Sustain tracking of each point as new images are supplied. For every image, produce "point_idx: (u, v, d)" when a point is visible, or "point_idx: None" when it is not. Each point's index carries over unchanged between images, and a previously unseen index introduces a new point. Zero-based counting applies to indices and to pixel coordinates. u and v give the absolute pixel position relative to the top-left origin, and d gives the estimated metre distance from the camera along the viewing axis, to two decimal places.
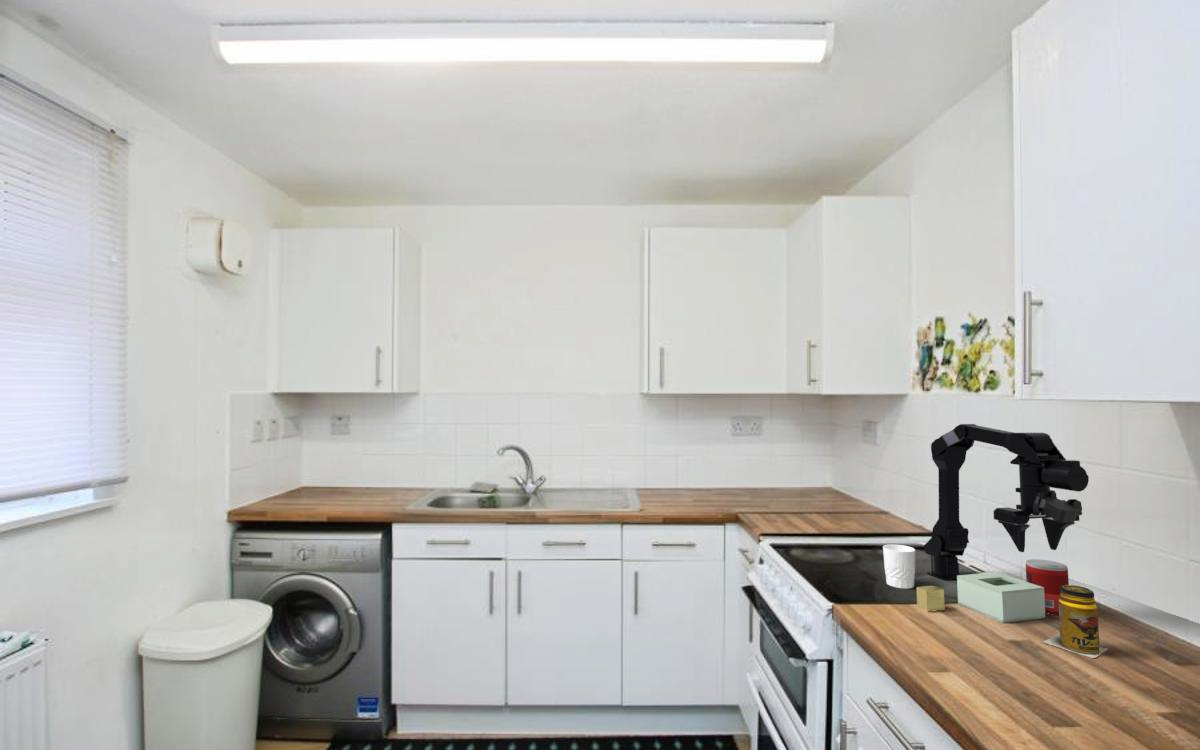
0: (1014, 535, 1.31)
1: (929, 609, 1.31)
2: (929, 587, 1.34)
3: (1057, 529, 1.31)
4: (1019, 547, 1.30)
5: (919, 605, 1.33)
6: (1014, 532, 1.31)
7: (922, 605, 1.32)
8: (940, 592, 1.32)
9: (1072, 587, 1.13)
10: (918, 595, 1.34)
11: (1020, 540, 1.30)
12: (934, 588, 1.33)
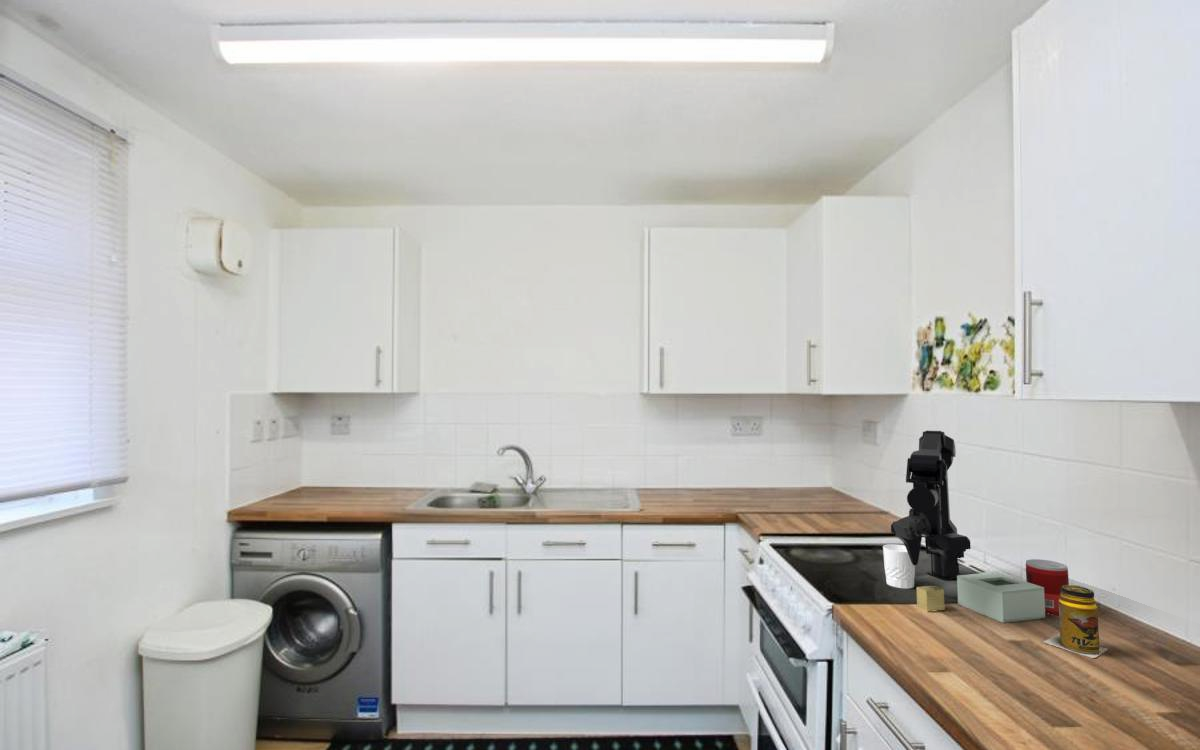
0: None
1: (929, 609, 1.31)
2: (929, 587, 1.34)
3: None
4: None
5: (919, 605, 1.33)
6: None
7: (922, 605, 1.32)
8: (940, 592, 1.32)
9: (1072, 587, 1.13)
10: (918, 595, 1.34)
11: None
12: (934, 588, 1.33)
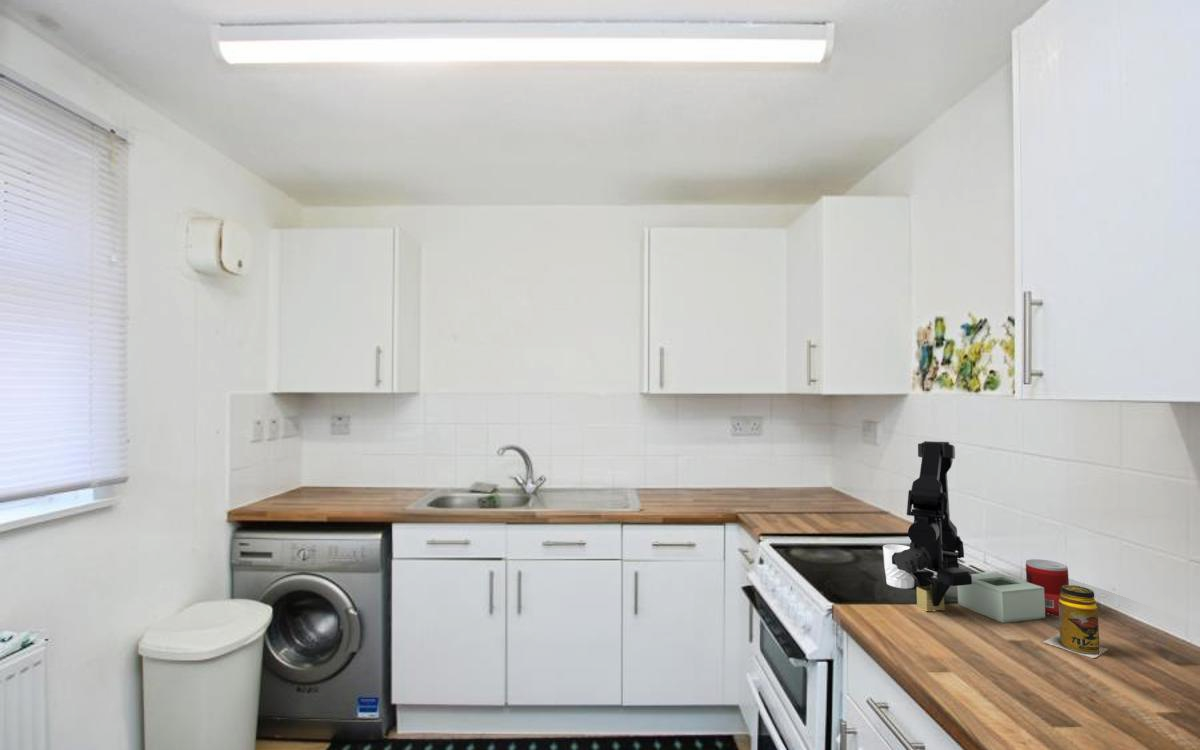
0: None
1: (929, 609, 1.31)
2: (929, 587, 1.34)
3: None
4: None
5: (919, 605, 1.33)
6: None
7: (922, 605, 1.32)
8: None
9: (1072, 587, 1.13)
10: (918, 595, 1.34)
11: None
12: None
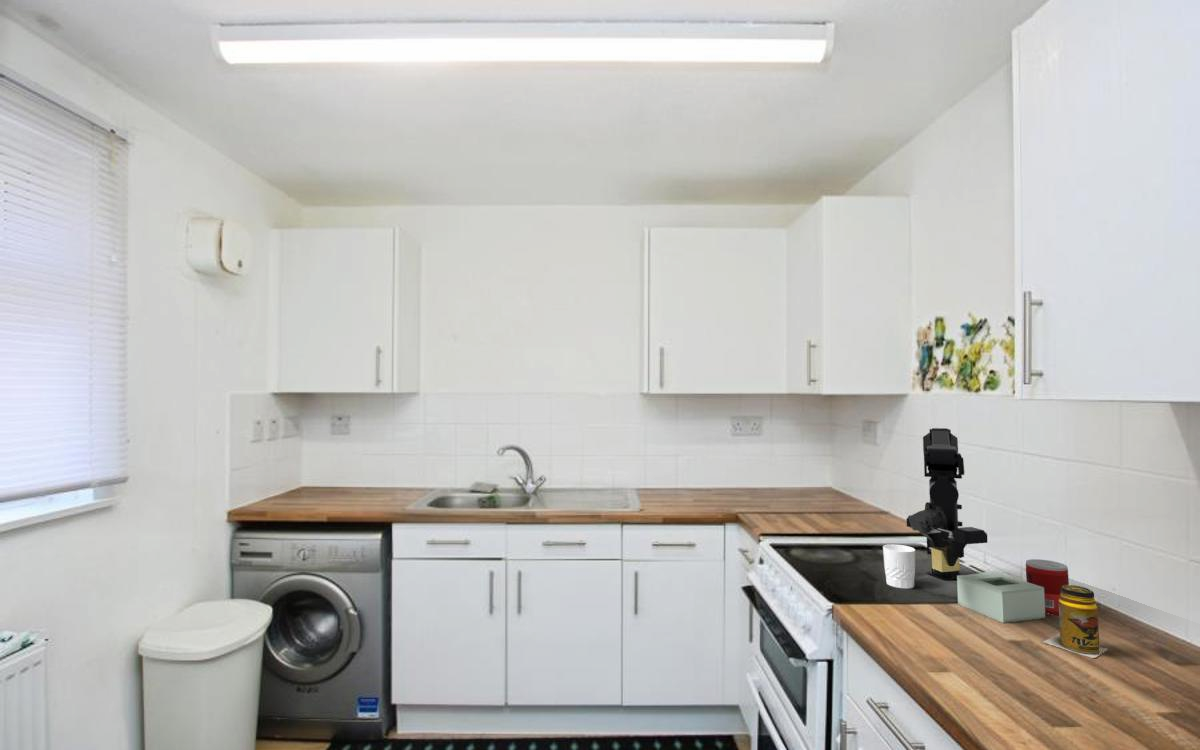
0: None
1: (944, 569, 1.32)
2: (944, 548, 1.34)
3: None
4: None
5: (934, 565, 1.34)
6: None
7: (937, 565, 1.33)
8: None
9: (1072, 587, 1.13)
10: (933, 555, 1.34)
11: None
12: None
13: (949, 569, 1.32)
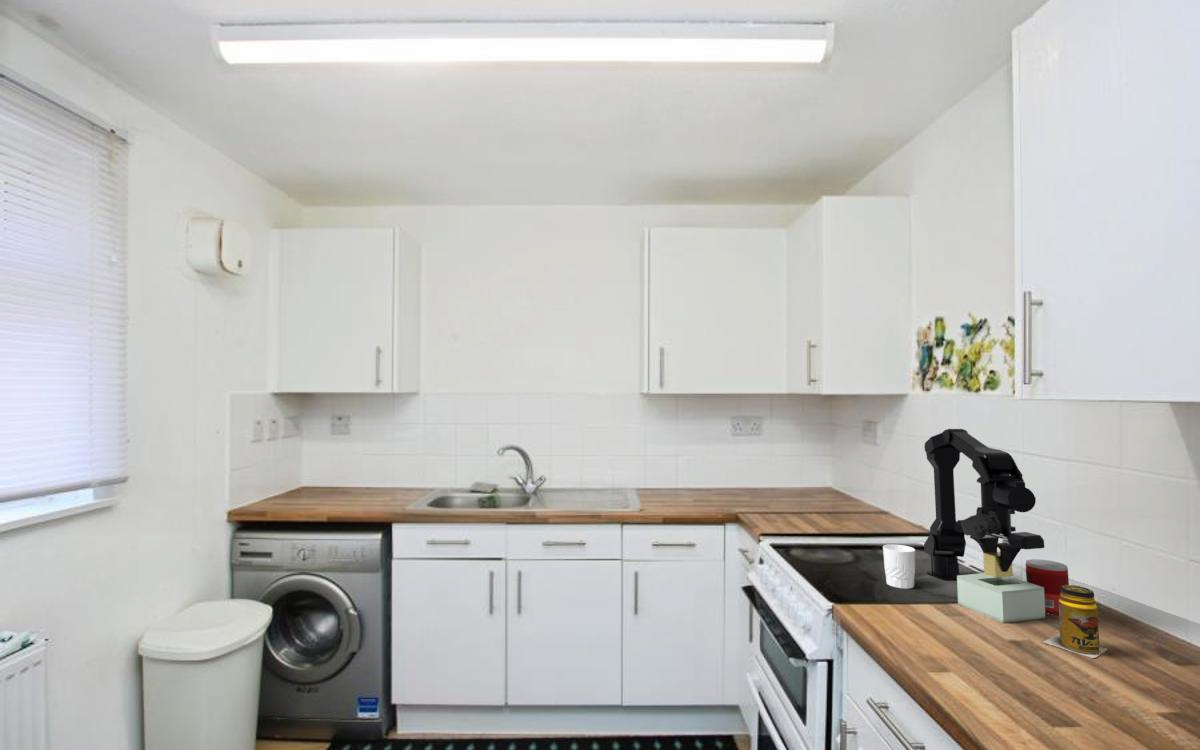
0: None
1: (998, 574, 1.30)
2: (996, 553, 1.33)
3: None
4: None
5: (986, 571, 1.32)
6: None
7: (990, 570, 1.31)
8: None
9: (1072, 587, 1.13)
10: (985, 561, 1.33)
11: None
12: None
13: (1002, 575, 1.31)
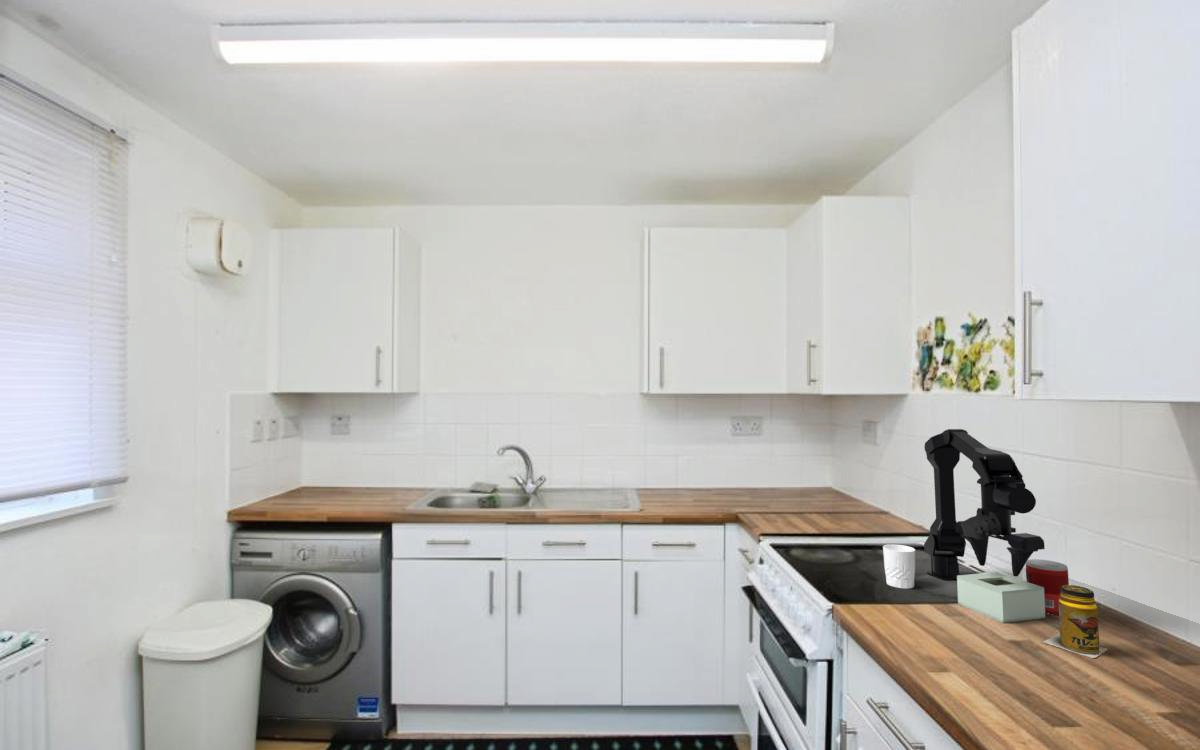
0: None
1: None
2: None
3: None
4: None
5: None
6: None
7: None
8: None
9: (1072, 587, 1.13)
10: None
11: None
12: None
13: None
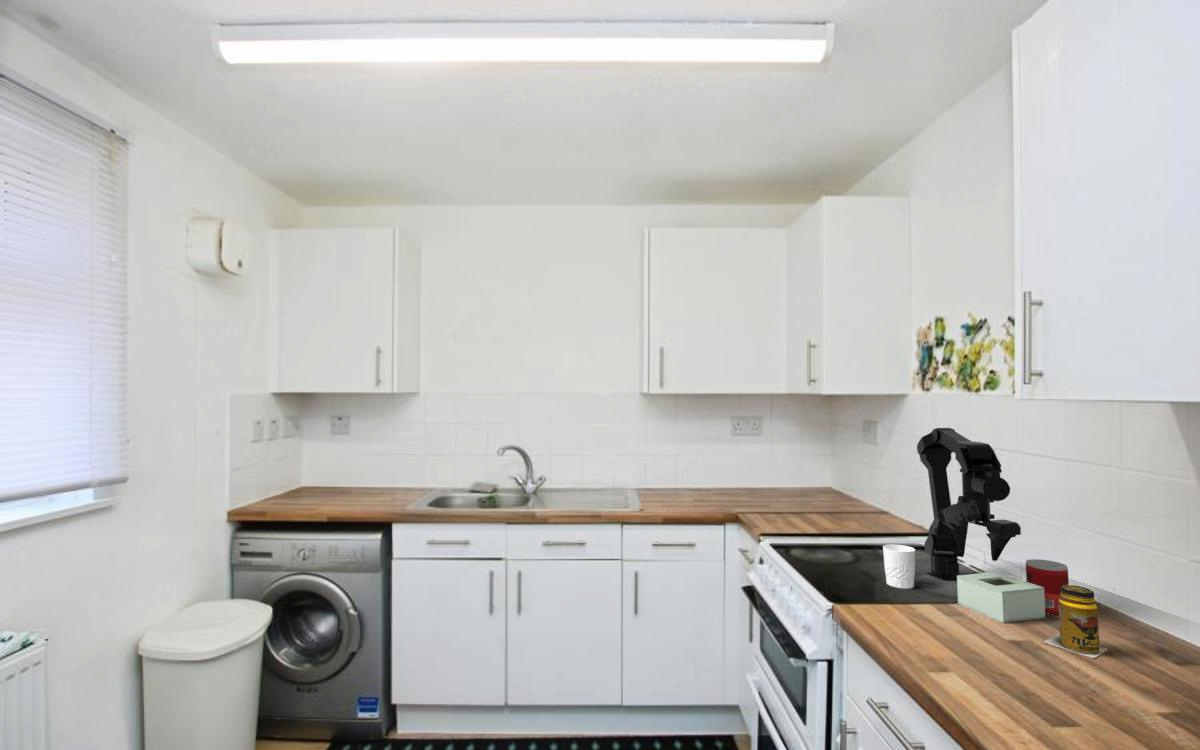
0: None
1: None
2: None
3: None
4: None
5: None
6: None
7: None
8: None
9: (1072, 587, 1.13)
10: None
11: None
12: None
13: None
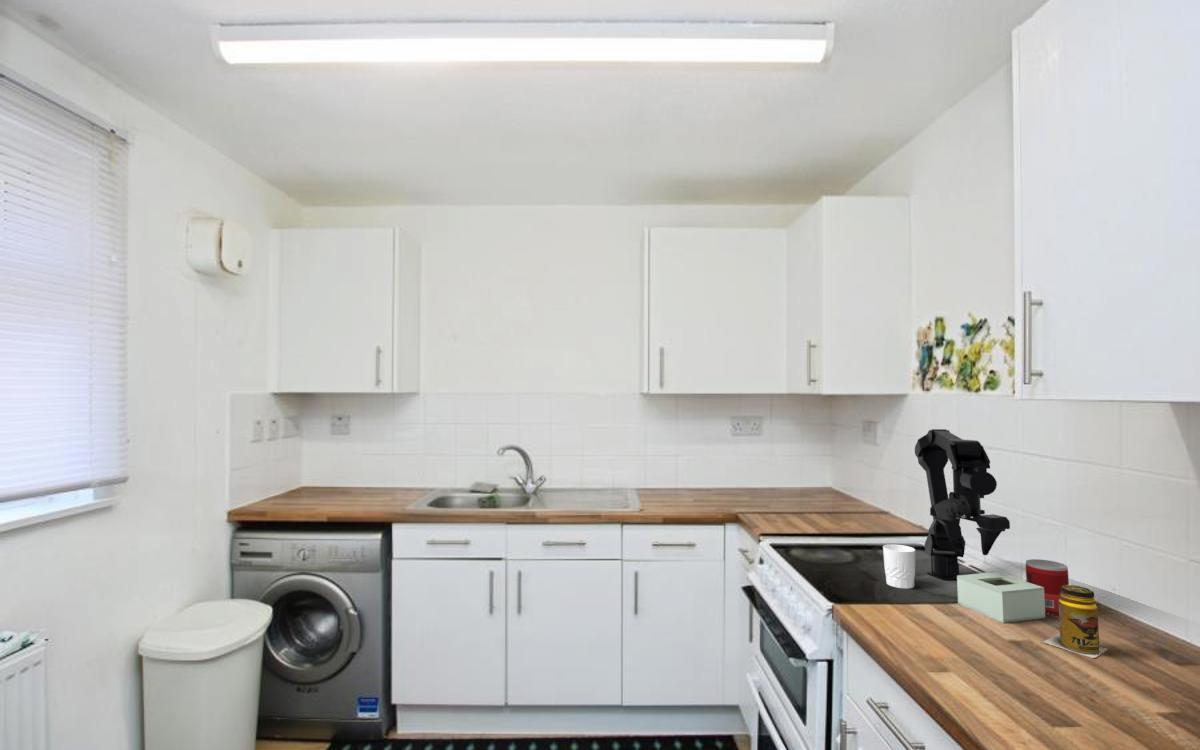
0: None
1: None
2: None
3: None
4: None
5: None
6: None
7: None
8: None
9: (1072, 587, 1.13)
10: None
11: None
12: None
13: None
